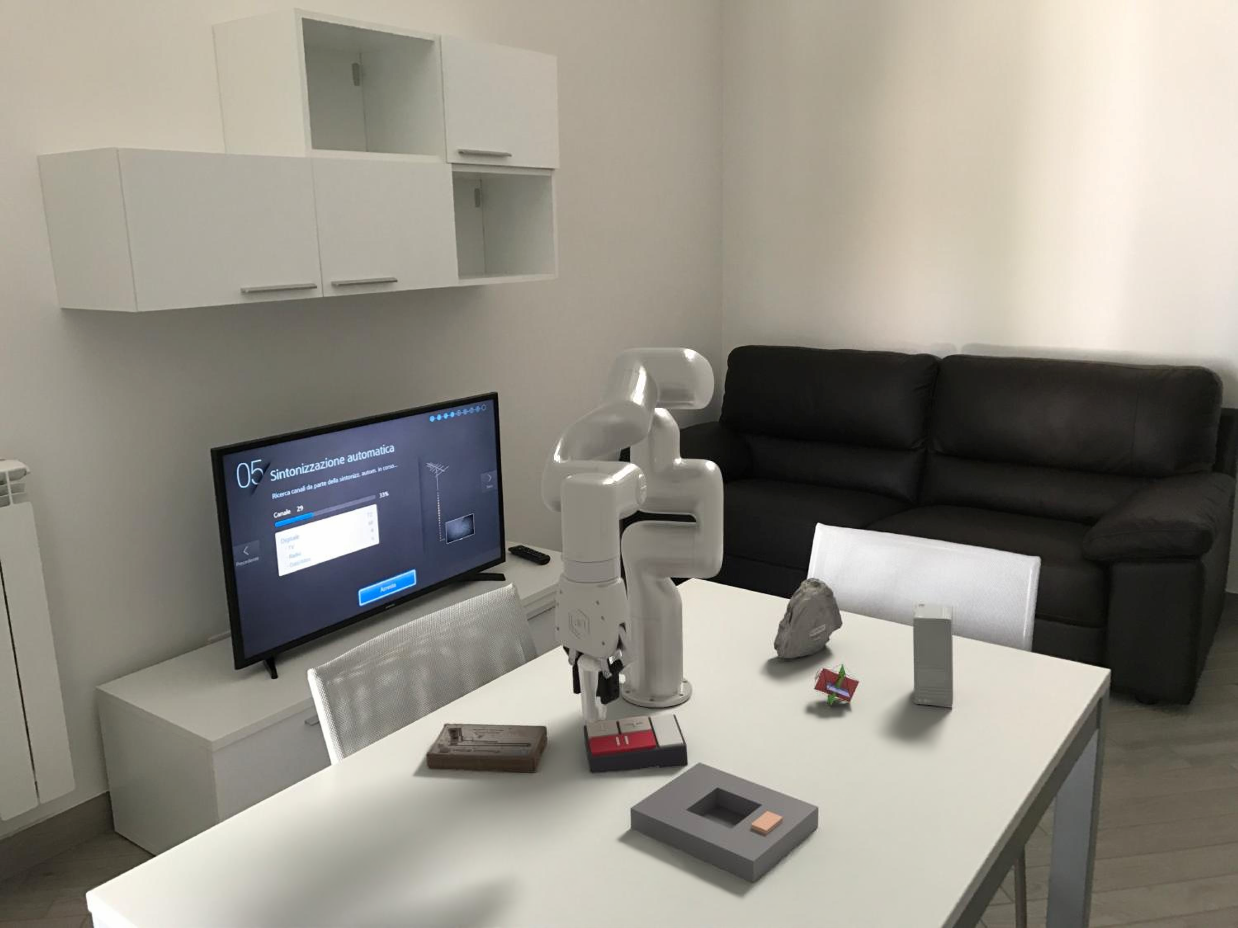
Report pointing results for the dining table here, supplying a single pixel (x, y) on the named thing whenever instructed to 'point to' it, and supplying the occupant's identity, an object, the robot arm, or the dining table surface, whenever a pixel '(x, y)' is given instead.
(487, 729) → the box
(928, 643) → the skincare box
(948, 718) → the dining table surface
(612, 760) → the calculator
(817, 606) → the decorative rock
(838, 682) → the geometric puzzle
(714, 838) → the socket plate
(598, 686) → the milkshake
